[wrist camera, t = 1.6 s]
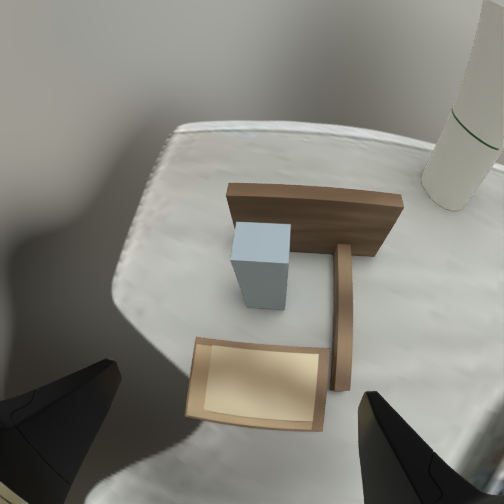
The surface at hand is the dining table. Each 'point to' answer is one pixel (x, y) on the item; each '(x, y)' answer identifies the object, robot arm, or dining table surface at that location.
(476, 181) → the cylindrical container
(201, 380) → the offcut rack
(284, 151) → the dining table surface
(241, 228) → the slate slat
